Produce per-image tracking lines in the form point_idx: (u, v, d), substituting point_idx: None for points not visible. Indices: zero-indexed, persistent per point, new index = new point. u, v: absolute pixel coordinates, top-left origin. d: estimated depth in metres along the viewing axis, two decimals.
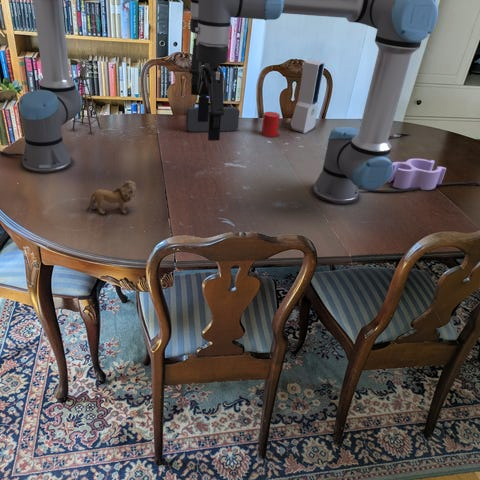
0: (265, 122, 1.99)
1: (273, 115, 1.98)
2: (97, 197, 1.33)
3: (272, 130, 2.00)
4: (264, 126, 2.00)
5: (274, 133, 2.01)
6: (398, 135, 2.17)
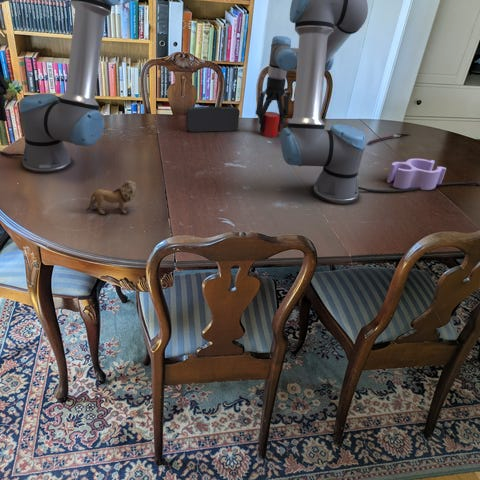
0: (265, 122, 1.99)
1: (273, 115, 1.98)
2: (97, 197, 1.33)
3: (272, 130, 2.00)
4: (264, 126, 2.00)
5: (274, 133, 2.01)
6: (398, 135, 2.17)
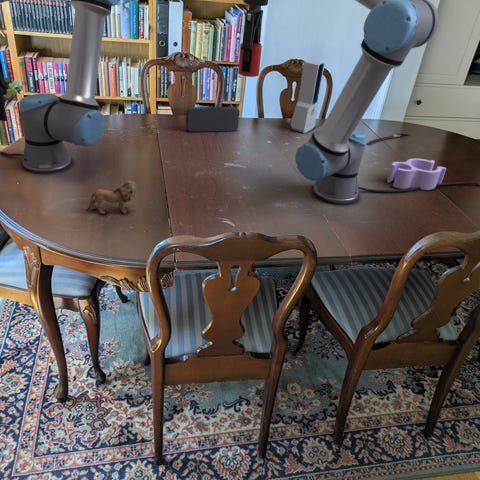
0: None
1: (257, 45, 1.47)
2: (97, 197, 1.33)
3: (259, 66, 1.50)
4: None
5: None
6: (398, 135, 2.17)
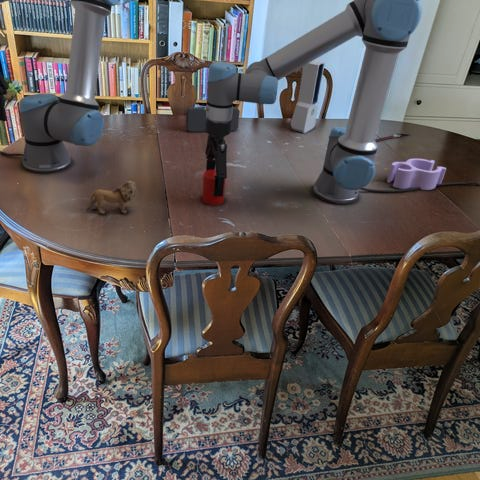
0: None
1: None
2: (97, 197, 1.33)
3: None
4: None
5: None
6: (398, 135, 2.17)
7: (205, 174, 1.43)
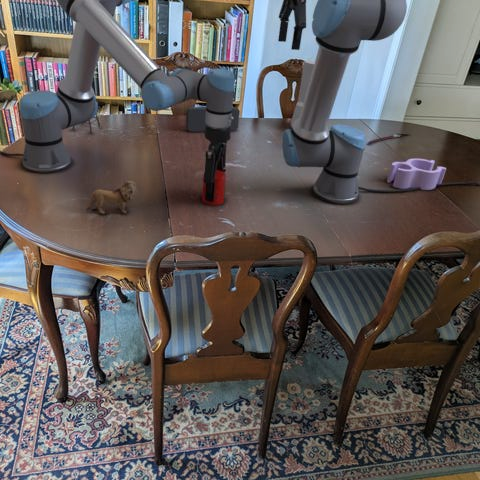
0: (220, 187, 1.44)
1: (221, 174, 1.44)
2: (97, 197, 1.33)
3: None
4: (219, 193, 1.45)
5: None
6: (398, 135, 2.17)
7: None
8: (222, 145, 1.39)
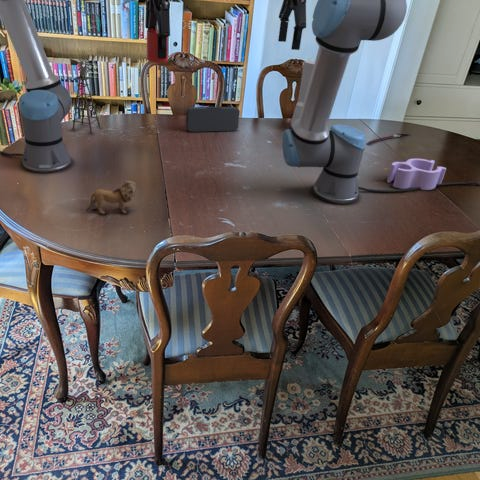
0: (167, 42, 1.54)
1: None
2: (97, 197, 1.33)
3: None
4: (167, 48, 1.55)
5: None
6: (398, 135, 2.17)
7: (152, 32, 1.50)
8: None
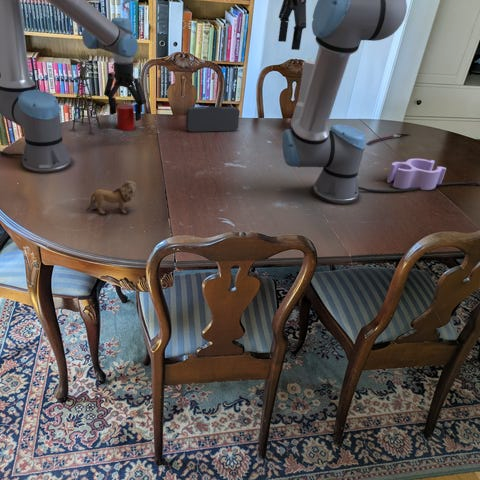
0: None
1: (126, 104, 1.92)
2: (97, 197, 1.33)
3: None
4: None
5: None
6: (398, 135, 2.17)
7: (124, 108, 1.88)
8: None
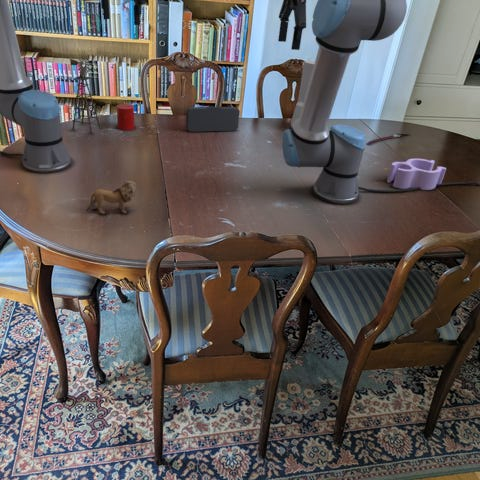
0: None
1: (126, 104, 1.92)
2: (97, 197, 1.33)
3: None
4: None
5: None
6: (398, 135, 2.17)
7: (124, 108, 1.88)
8: None
